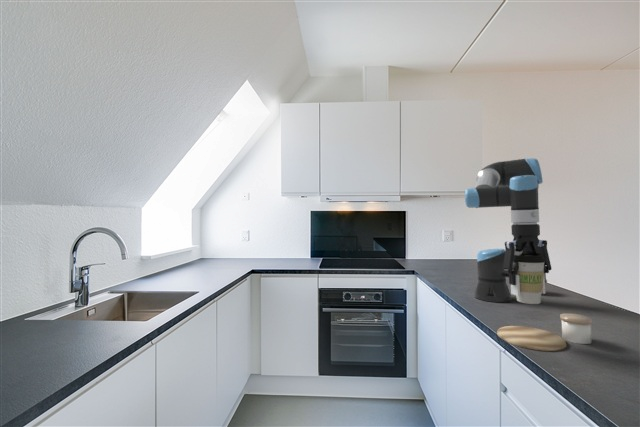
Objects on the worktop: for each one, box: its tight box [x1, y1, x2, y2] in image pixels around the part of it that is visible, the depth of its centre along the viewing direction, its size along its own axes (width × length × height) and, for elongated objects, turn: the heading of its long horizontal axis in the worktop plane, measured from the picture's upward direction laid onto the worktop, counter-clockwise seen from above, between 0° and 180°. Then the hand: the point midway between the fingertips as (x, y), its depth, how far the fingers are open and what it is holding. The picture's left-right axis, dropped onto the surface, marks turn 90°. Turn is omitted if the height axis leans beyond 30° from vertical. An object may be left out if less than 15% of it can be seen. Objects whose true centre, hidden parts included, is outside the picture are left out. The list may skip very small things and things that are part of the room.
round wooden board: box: [496, 325, 567, 352], centre depth 95 cm, size 18×18×1 cm
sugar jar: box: [559, 313, 593, 345], centre depth 93 cm, size 8×8×7 cm
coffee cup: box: [513, 253, 546, 305], centre depth 95 cm, size 10×10×15 cm
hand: (528, 293), depth 95 cm, fingers closed on coffee cup, 9 cm apart
